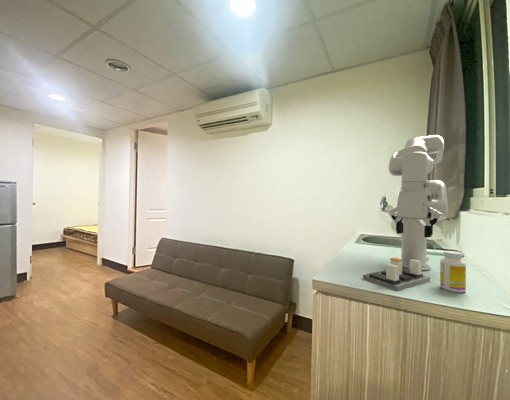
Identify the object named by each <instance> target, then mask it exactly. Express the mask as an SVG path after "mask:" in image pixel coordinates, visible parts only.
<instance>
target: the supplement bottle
mask: <svg viewBox="0 0 510 400" xmlns="http://www.w3.org/2000/svg"><path fill="white" fill-rule="evenodd" d="M443 255H444V257H443V258H441V259H440V260H439V261H440V262H439V263H440V264H439V265H440V266H439V267H440V268H439V269H440V273H439V275H440V276H439V282H440V283H439V284H440V287H441V288H442V289H444V290H446V291H448V292H452V293H464V292H467V291H466V285H467V282H466V279H467V277H466V276H467V272H466V271H467V265H466V264H467V263H466V262H465V261H464V260H462V257H463V253H461V252H459V251H454V250H453V251H452V250H445V251H444V250H443Z"/></svg>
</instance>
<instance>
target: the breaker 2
mask: <svg viewBox="0 0 510 400" xmlns="http://www.w3.org/2000/svg"><path fill="white" fill-rule="evenodd" d="M409 271H410V273H412V274H416V275H420V274H423V273H422V271H423V270H422V261H419V260H414V259H412V260H410V269H409Z"/></svg>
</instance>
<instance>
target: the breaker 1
mask: <svg viewBox="0 0 510 400" xmlns="http://www.w3.org/2000/svg"><path fill="white" fill-rule="evenodd" d="M385 268H386V269H385V270H386V279H389V280H393V281H398V280H399V266H397V265H393V264H391V263H388V264H386V267H385Z"/></svg>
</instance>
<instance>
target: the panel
mask: <svg viewBox="0 0 510 400" xmlns="http://www.w3.org/2000/svg"><path fill="white" fill-rule="evenodd" d="M362 280H365V281H368V282H370V283H374V284H377V285H379V286H383V287H385V288H388V289H391V290H393V291H396V292H399V291H402V290H406V289H410V288H412V287H415V286H419V285H422V284H423V285H424V284H425V283H430V281H431V277H430V276H426V275H424V274H423V273H422V274H420V275H416V274H412V273H410V269H409V270H408V269H407V268H406V269H405V268H402V275H399V280H398V281H393V280H389V279H386V269H385V270H379V271H375V272H371V273H370V272H369V273H367V274H362Z"/></svg>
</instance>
